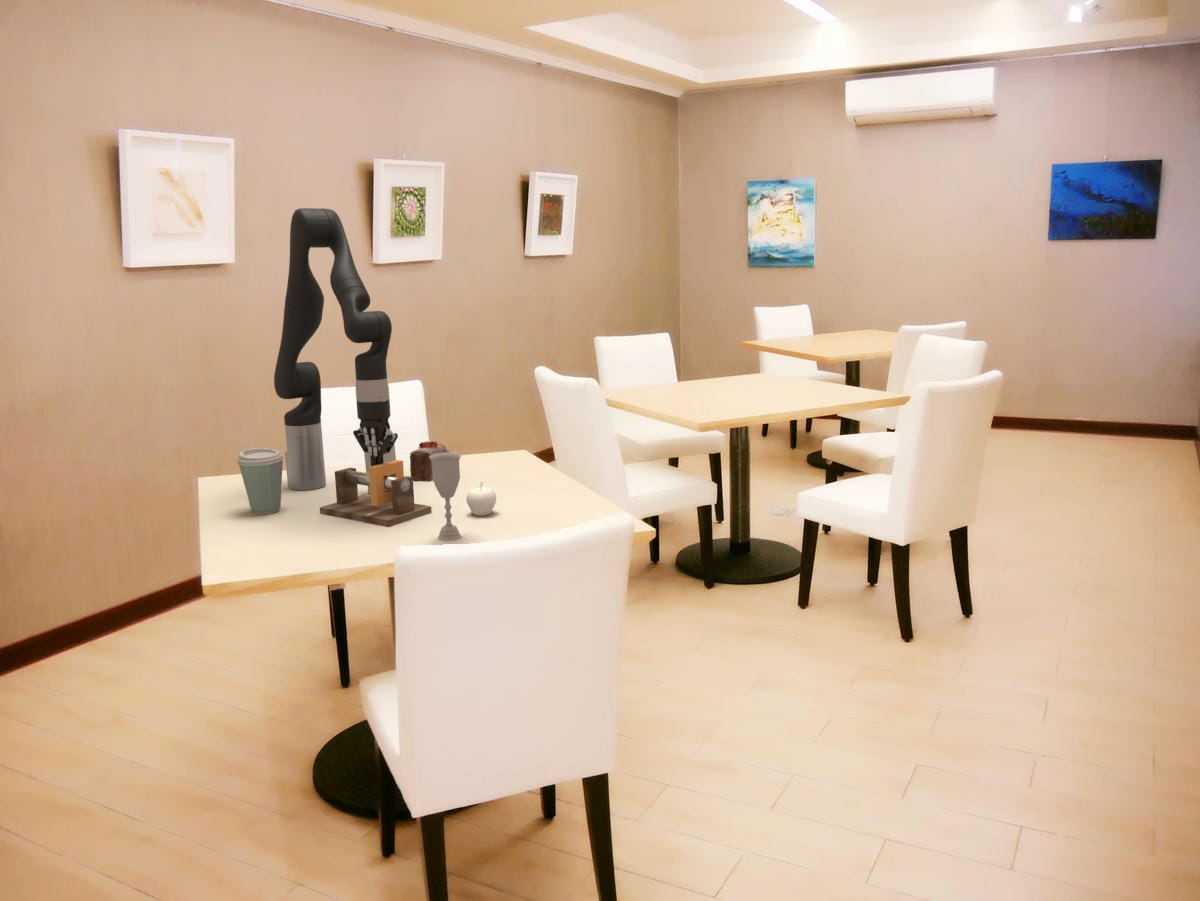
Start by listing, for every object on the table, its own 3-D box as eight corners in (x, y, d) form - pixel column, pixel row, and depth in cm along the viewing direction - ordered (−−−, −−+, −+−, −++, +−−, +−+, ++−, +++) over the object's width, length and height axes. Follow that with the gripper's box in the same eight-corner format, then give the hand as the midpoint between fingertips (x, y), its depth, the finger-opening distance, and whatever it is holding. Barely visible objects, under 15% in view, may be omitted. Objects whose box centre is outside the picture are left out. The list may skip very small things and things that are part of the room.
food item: (425, 470, 276) (423, 436, 274) (452, 470, 275) (450, 436, 273) (408, 481, 263) (406, 445, 261) (436, 481, 261) (434, 446, 259)
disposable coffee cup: (297, 507, 237) (292, 447, 234) (269, 519, 227) (263, 456, 224) (261, 504, 241) (255, 445, 237) (232, 516, 231) (226, 454, 228)
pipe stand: (320, 513, 231) (317, 474, 229) (363, 500, 243) (361, 463, 241) (388, 526, 219) (386, 486, 217) (431, 512, 230) (429, 473, 228)
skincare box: (400, 495, 247) (396, 438, 244) (377, 499, 244) (373, 441, 241) (388, 489, 254) (384, 433, 251) (365, 492, 250) (361, 436, 247)
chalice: (435, 532, 213) (430, 453, 210) (466, 531, 214) (462, 452, 210) (432, 542, 206) (427, 460, 203) (464, 541, 207) (460, 459, 203)
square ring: (371, 504, 224) (368, 467, 223) (399, 496, 232) (396, 459, 230) (377, 506, 223) (374, 468, 221) (405, 497, 231) (402, 460, 229)
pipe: (338, 483, 234) (337, 470, 233) (348, 480, 236) (347, 467, 236) (400, 493, 222) (400, 480, 222) (410, 490, 225) (410, 477, 224)
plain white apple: (473, 519, 223) (471, 486, 222) (463, 512, 230) (461, 480, 228) (501, 515, 226) (500, 482, 225) (490, 508, 233) (489, 476, 231)
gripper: (340, 398, 225) (346, 471, 228) (381, 402, 217) (386, 477, 221) (365, 394, 231) (369, 464, 234) (405, 397, 224) (409, 470, 227)
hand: (377, 470), depth 228 cm, fingers closed
